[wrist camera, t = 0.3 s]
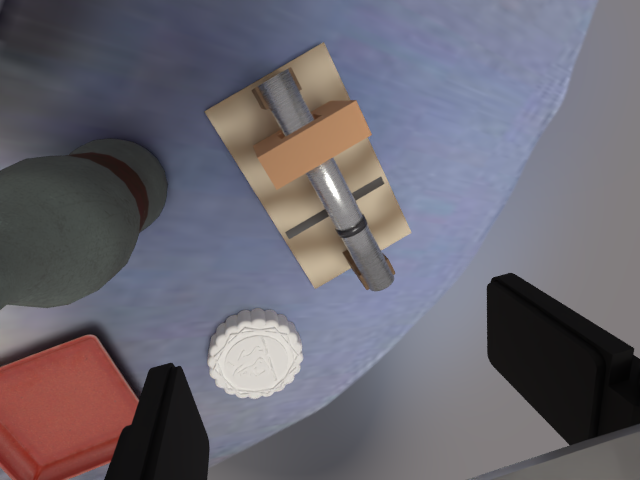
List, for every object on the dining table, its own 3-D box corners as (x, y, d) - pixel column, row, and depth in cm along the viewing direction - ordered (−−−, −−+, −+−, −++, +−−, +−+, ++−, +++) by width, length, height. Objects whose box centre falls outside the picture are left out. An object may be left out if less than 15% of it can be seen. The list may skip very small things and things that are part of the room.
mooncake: (196, 323, 48) (193, 339, 45) (287, 295, 50) (291, 309, 46) (225, 394, 53) (224, 414, 50) (308, 368, 54) (313, 385, 51)
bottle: (61, 149, 39) (-375, 266, 11) (151, 124, 40) (-45, 176, 12) (104, 232, 42) (-147, 480, 15) (185, 208, 43) (95, 398, 16)
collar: (252, 145, 38) (257, 157, 30) (330, 100, 39) (356, 100, 30) (268, 171, 40) (276, 190, 31) (343, 127, 40) (371, 134, 31)
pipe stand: (205, 111, 40) (197, 113, 32) (320, 44, 40) (341, 30, 32) (313, 283, 50) (327, 317, 42) (406, 228, 50) (438, 252, 42)
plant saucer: (169, 422, 53) (165, 442, 50) (39, 474, 51) (26, 498, 48) (102, 317, 46) (93, 332, 43) (-51, 373, 44) (-72, 393, 41)
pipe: (255, 87, 34) (257, 86, 31) (286, 69, 34) (291, 66, 31) (363, 282, 43) (373, 296, 40) (388, 268, 43) (399, 280, 40)
